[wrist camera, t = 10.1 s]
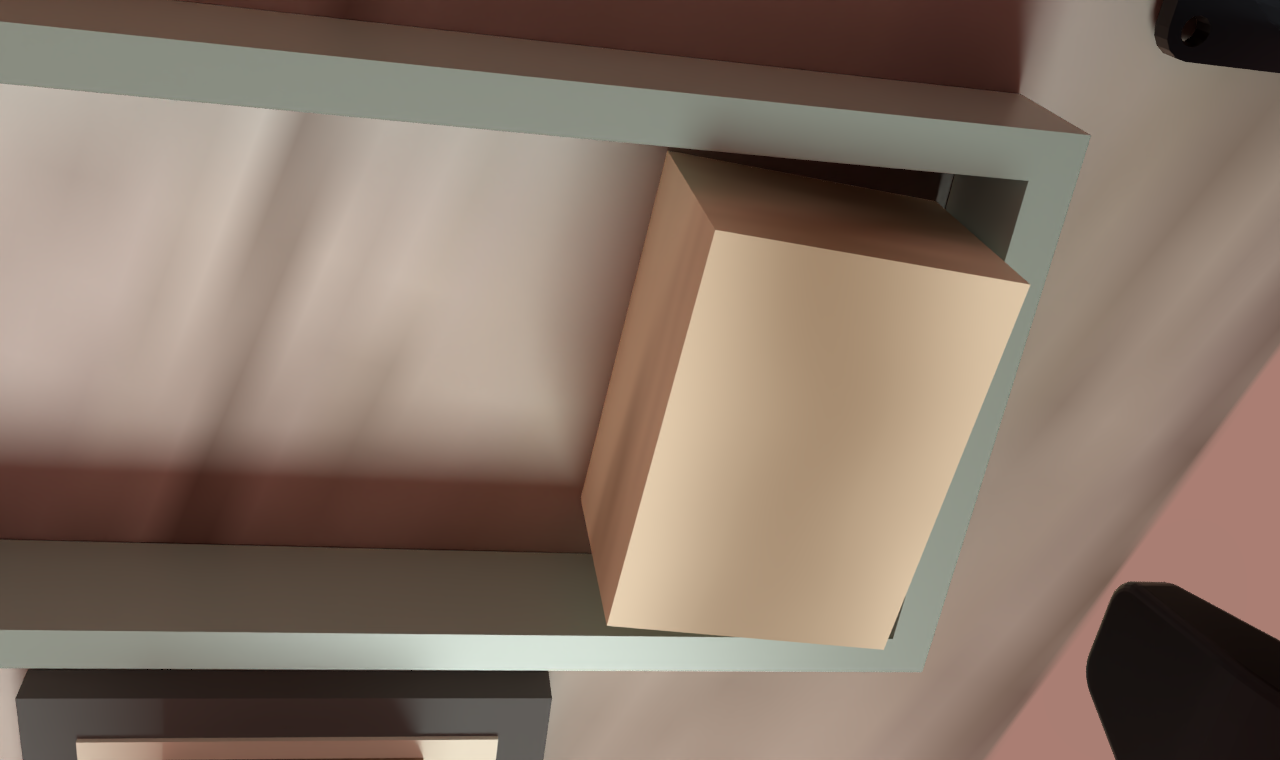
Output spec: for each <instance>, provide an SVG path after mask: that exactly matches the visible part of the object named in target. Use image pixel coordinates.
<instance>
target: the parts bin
mask: <svg viewBox="0 0 1280 760" xmlns="http://www.w3.org/2000/svg"><path fill="white" fill-rule="evenodd" d="M0 83H2V84H12V85H23V86H33V87H44V88H54V89H65V90H75V91H86V92H96V93H107V94H117V95H128V96H139V97H149V98H160V99H170V100H181V101H191V102H202V103H212V104H223V105H233V106H244V107H255V108H265V109H276V110H286V111H297V112H307V113H318V114H328V115H339V116H349V117H360V118H371V119H381V120H392V121H402V122H413V123H423V124H434V125H444V126H455V127H465V128H476V129H487V130H497V131H508V132H518V133H529V134H539V135H550V136H560V137H571V138H581V139H592V140H603V141H613V142H624V143H634V144H645V145H655V146H666V147H676V148H687V149H697V150H708V151H718V152H729V153H740V154H750V155H761V156H771V157H782V158H792V159H803V160H813V161H824V162H834V163H845V164H856V165H866V166H877V167H887V168H898V169H908V170H919V171H929V172H940V173H950V174H955V176H954V180H953V183H952V187H951V191H950V195H949V198H948V202H947V206H946V211H948V212H949V213H950V214H951V215H952V216H953V217H954V218H956V219H957V220H958V221H959V222H960V223H961V224H962V225H963V226H965V227H966V228H967V229H968V230H969V231H970V232H971V233H973V234H974V235H975V236H976V237H977V238H978V239H979V240H980V241H982V242H983V243H984V244H985V245H986V246H987V247H988V248H990V249H991V250H992V251H993V252H994V253H995V254H996V255H997V256H999V257H1000V258H1001V259H1002V260H1003V261H1004V262H1005V263H1007V264H1008V265H1009V266H1010V267H1011V268H1012V269H1013V270H1014V271H1016V272H1017V273H1018V274H1019V275H1020V276H1021V277H1022V278H1024V279H1025V280H1026V281H1027V282H1028V283H1029V284H1030V287H1029V290H1028V292H1027V295H1026V297H1025V300H1024V302H1023V305H1022V307H1021V310H1020V312H1019V315H1018V317H1017V320H1016V322H1015V325H1014V327H1013V329H1012V332H1011V334H1010V337H1009V339H1008V342H1007V344H1006V347H1005V349H1004V352H1003V354H1002V357H1001V359H1000V362H999V364H998V367H997V369H996V372H995V374H994V377H993V379H992V382H991V384H990V387H989V389H988V392H987V394H986V397H985V399H984V402H983V404H982V407H981V409H980V412H979V414H978V417H977V419H976V422H975V424H974V427H973V429H972V431H971V434H970V436H969V439H968V441H967V444H966V446H965V449H964V451H963V454H962V456H961V459H960V461H959V464H958V466H957V469H956V471H955V474H954V476H953V479H952V481H951V484H950V486H949V489H948V491H947V494H946V496H945V499H944V501H943V504H942V506H941V509H940V511H939V514H938V516H937V519H936V521H935V524H934V526H933V529H932V531H931V533H930V536H929V538H928V541H927V543H926V546H925V548H924V551H923V553H922V556H921V558H920V561H919V563H918V566H917V568H916V571H915V573H914V576H913V578H912V581H911V583H910V586H909V588H908V591H907V593H906V596H905V598H904V601H903V603H902V606H901V608H900V611H899V613H898V616H897V618H896V621H895V623H894V626H893V628H892V631H891V633H890V635H889V638H888V640H887V643H886V645H885V648H884V650H880V649H868V648H857V647H845V646H834V645H822V644H811V643H799V642H788V641H776V640H765V639H753V638H742V637H730V636H719V635H707V634H696V633H684V632H673V631H661V630H650V629H638V628H627V627H615V626H607V624H606V619H605V615H604V610H603V605H602V600H601V595H600V590H599V585H598V581H597V576H596V571H595V566H594V561H593V556H592V554H577V553H536V552H495V551H453V550H412V549H371V548H329V547H288V546H247V545H205V544H164V543H123V542H81V541H40V540H0V668H70V669H304V670H539V671H774V672H922V671H923V668H924V665H925V661H926V658H927V655H928V652H929V649H930V646H931V642H932V639H933V636H934V633H935V630H936V627H937V623H938V620H939V617H940V614H941V611H942V607H943V604H944V601H945V598H946V595H947V592H948V588H949V585H950V582H951V579H952V576H953V573H954V569H955V566H956V563H957V560H958V557H959V553H960V550H961V547H962V544H963V541H964V538H965V534H966V531H967V528H968V525H969V522H970V519H971V515H972V512H973V509H974V506H975V503H976V499H977V496H978V493H979V490H980V487H981V484H982V480H983V477H984V474H985V471H986V468H987V464H988V461H989V458H990V455H991V452H992V449H993V445H994V442H995V439H996V436H997V433H998V430H999V426H1000V423H1001V420H1002V417H1003V414H1004V410H1005V407H1006V404H1007V401H1008V398H1009V395H1010V391H1011V388H1012V385H1013V382H1014V379H1015V376H1016V372H1017V369H1018V366H1019V363H1020V360H1021V356H1022V353H1023V350H1024V347H1025V344H1026V341H1027V337H1028V334H1029V331H1030V328H1031V325H1032V322H1033V318H1034V315H1035V312H1036V309H1037V306H1038V302H1039V299H1040V296H1041V293H1042V290H1043V287H1044V283H1045V280H1046V277H1047V274H1048V271H1049V268H1050V264H1051V261H1052V258H1053V255H1054V252H1055V248H1056V245H1057V242H1058V239H1059V236H1060V233H1061V229H1062V226H1063V223H1064V220H1065V217H1066V213H1067V210H1068V207H1069V204H1070V201H1071V198H1072V194H1073V191H1074V188H1075V185H1076V182H1077V179H1078V175H1079V172H1080V169H1081V166H1082V163H1083V159H1084V156H1085V153H1086V150H1087V147H1088V144H1089V140H1090V137H1091V135H1090V134H1088V133H1086V132H1084V131H1083V130H1081V129H1079V128H1078V127H1076V126H1074V125H1073V124H1071V123H1069V122H1067V121H1066V120H1064V119H1062V118H1061V117H1059V116H1057V115H1055V114H1054V113H1052V112H1050V111H1049V110H1047V109H1045V108H1044V107H1042V106H1040V105H1038V104H1037V103H1035V102H1033V101H1032V100H1030V99H1028V98H1026V97H1025V96H1023V95H1021V94H1016V93H1007V92H998V91H988V90H979V89H970V88H961V87H952V86H943V85H934V84H925V83H916V82H907V81H898V80H889V79H880V78H871V77H862V76H853V75H844V74H835V73H826V72H817V71H808V70H799V69H790V68H781V67H772V66H763V65H754V64H745V63H736V62H726V61H717V60H708V59H699V58H690V57H681V56H672V55H663V54H654V53H645V52H636V51H627V50H618V49H609V48H600V47H591V46H582V45H573V44H564V43H555V42H546V41H537V40H528V39H519V38H510V37H501V36H492V35H483V34H473V33H464V32H455V31H446V30H437V29H428V28H419V27H410V26H401V25H392V24H383V23H374V22H365V21H356V20H347V19H338V18H329V17H320V16H311V15H302V14H293V13H284V12H275V11H266V10H257V9H248V8H239V7H230V6H221V5H211V4H202V3H193V2H184V1H175V0H0Z"/></svg>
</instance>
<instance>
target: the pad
mask: <svg viewBox="0 0 1280 760" xmlns="http://www.w3.org/2000/svg"><path fill="white" fill-rule="evenodd" d="M15 699H16V707H17V716H18V724H19V732H20V740H21V748H22V757H23V760H225V759H333V758H423V760H543V758H544V751H545V744H546V737H547V729H548V722H549V715H550V708H551V701H552V696H551V688H550V680H549V673H548V672H519V671H273V670H28V671H27V673H26V676H25V678H24V680H23V682H22V685H21V687H20V689H19V692H18V694H17V696H16V698H15Z"/></svg>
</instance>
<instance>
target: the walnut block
mask: <svg viewBox="0 0 1280 760" xmlns="http://www.w3.org/2000/svg"><path fill="white" fill-rule="evenodd" d="M225 760H423V758H333V759H225Z"/></svg>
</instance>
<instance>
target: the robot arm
mask: <svg viewBox="0 0 1280 760" xmlns="http://www.w3.org/2000/svg"><path fill="white" fill-rule="evenodd" d="M1192 17H1196V19H1197V24H1196V29H1195V31H1194V33H1193V34H1192V36H1191V37H1189V38H1188V39H1187V40H1185V41H1182V39H1181V33H1182V29H1183V27H1184V25H1185V24H1186V22H1187V21H1188V20H1190V19H1191V18H1192ZM1154 36H1155V40H1156V44H1157V46H1158V47H1159V49H1160V50H1161V51H1162V52H1163V53H1165V54H1167V55H1169V56H1172V57H1174V58H1177V59H1179V60H1182V61H1185V62H1192V63H1200V64H1208V65H1217V66H1225V67H1233V68H1242V69H1250V70H1258V71H1267V72H1275V73H1280V0H1163V3H1162V7H1161V10H1160V13H1159V16H1158V19H1157V22H1156V27H1155V34H1154ZM1086 678H1087V684H1088V688H1089V691H1090V694H1091V697H1092V700H1093V702H1094V705H1095V707H1096V710H1097V713H1098V715H1099V718H1100V720H1101V723H1102V726H1103V728H1104V731H1105V733H1106V736H1107V739H1108V741H1109V744H1110V746H1111V749H1112V752H1113V754H1114V757H1115V759H1116V760H1280V641H1279V640H1278V639H1276V638H1274V637H1272V636H1270V635H1268V634H1266V633H1265V632H1262V631H1261V630H1259V629H1257V628H1255V627H1253V626H1251V625H1249V624H1248V623H1246V622H1244V621H1242V620H1240V619H1238V618H1237V617H1235V616H1233V615H1231V614H1229V613H1227V612H1225V611H1223V610H1222V609H1220V608H1218V607H1216V606H1214V605H1212V604H1210V603H1209V602H1207V601H1205V600H1203V599H1201V598H1199V597H1197V596H1195V595H1194V594H1192V593H1190V592H1188V591H1186V590H1184V589H1182V588H1181V587H1179V586H1176V585H1174V584H1171V583H1166V582H1127V583H1124V584H1122V585H1121V586H1119V587H1118V588H1117V589H1116V591H1115V592H1114V593H1113V595H1112V597H1111V600H1110V603H1109V605H1108V607H1107V610H1106V612H1105V615H1104V618H1103V620H1102V623H1101V625H1100V628H1099V630H1098V633H1097V635H1096V638H1095V640H1094V643H1093V646H1092V648H1091V651H1090V653H1089V656H1088V660H1087V666H1086Z"/></svg>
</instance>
